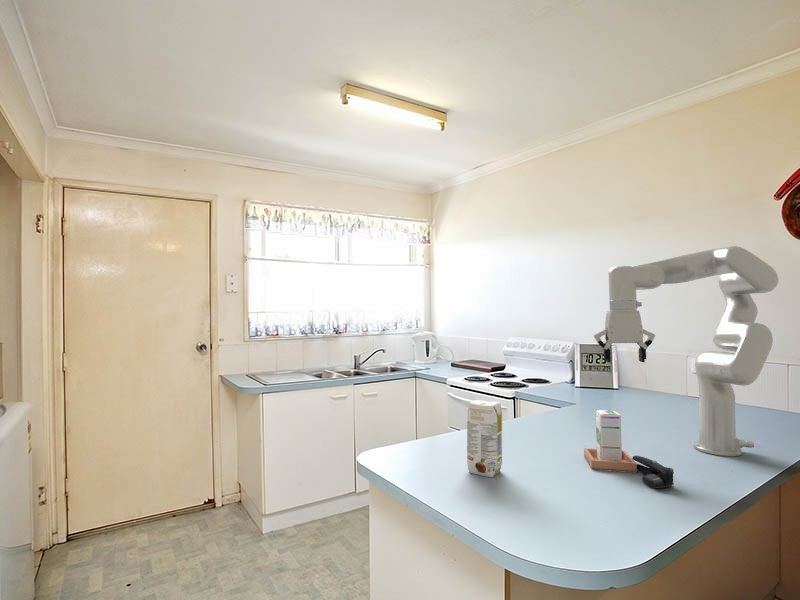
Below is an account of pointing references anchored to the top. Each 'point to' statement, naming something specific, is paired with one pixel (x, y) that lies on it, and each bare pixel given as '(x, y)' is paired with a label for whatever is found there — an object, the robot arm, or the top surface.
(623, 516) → the top surface
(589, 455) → the tray
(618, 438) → the syrup box
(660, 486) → the can opener
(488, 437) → the juice carton
